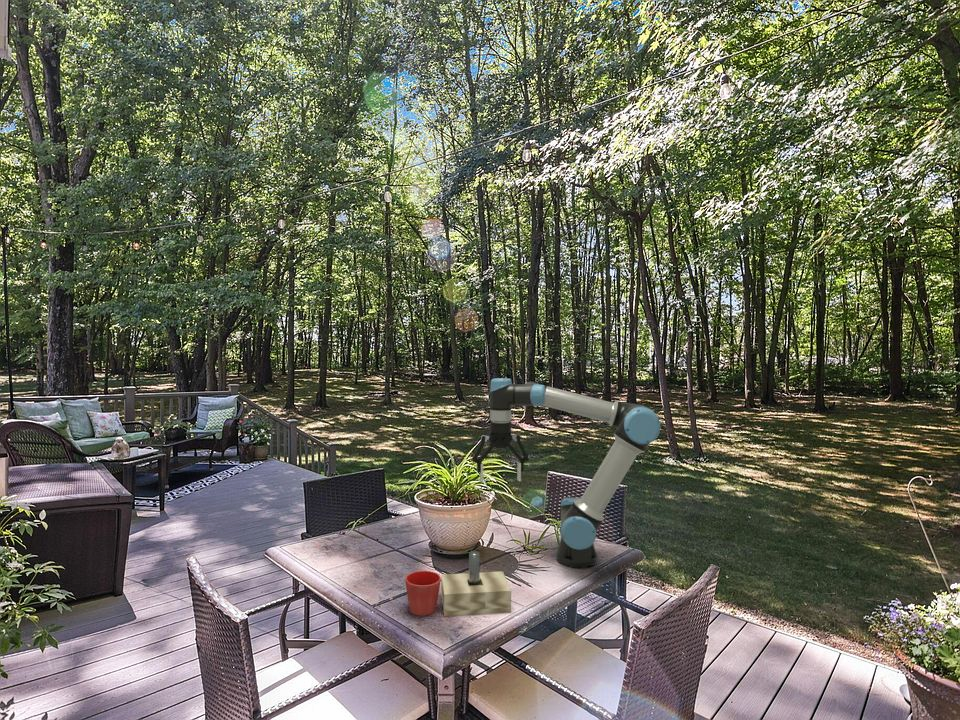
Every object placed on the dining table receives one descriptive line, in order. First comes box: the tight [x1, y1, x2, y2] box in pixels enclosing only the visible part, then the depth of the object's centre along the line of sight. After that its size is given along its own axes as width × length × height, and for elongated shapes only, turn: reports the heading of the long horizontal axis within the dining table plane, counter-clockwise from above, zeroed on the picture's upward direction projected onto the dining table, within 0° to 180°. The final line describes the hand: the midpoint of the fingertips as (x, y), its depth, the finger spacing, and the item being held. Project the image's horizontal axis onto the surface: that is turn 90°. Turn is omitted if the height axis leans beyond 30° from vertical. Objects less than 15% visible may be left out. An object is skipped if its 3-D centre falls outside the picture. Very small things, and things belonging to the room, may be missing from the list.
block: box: [440, 570, 512, 617], centre depth 162 cm, size 20×14×6 cm
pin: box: [468, 550, 481, 586], centre depth 162 cm, size 3×3×14 cm
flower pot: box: [404, 570, 441, 616], centre depth 158 cm, size 11×11×10 cm
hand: (500, 481), depth 187 cm, fingers open, 13 cm apart
